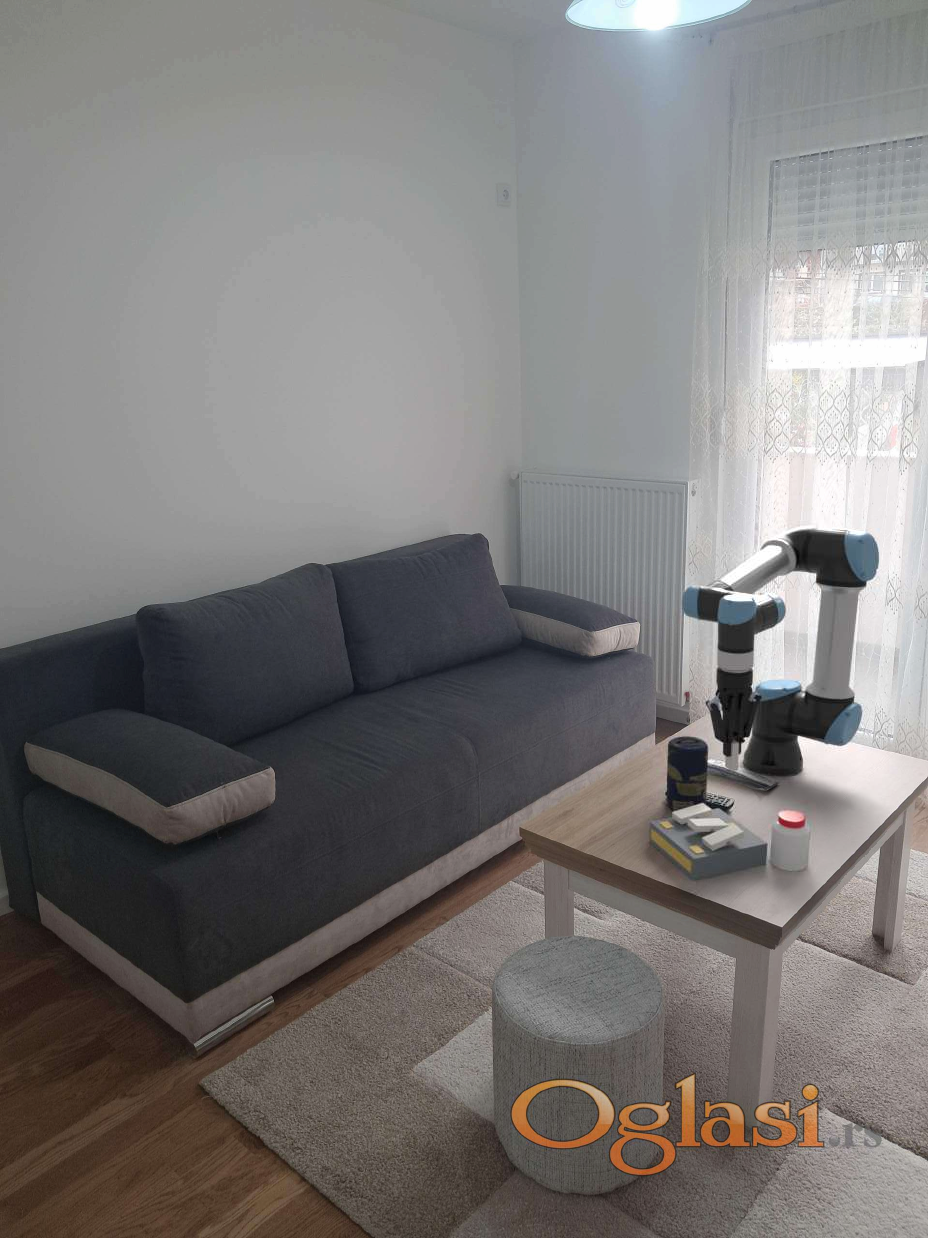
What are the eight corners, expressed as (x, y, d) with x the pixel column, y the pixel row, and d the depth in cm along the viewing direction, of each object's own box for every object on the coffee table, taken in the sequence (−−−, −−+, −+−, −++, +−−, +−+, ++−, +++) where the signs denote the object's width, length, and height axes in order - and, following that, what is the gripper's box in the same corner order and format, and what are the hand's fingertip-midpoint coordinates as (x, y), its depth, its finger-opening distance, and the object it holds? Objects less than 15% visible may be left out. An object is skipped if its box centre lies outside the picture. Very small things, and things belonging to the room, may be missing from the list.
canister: (706, 817, 223) (709, 746, 219) (665, 814, 225) (668, 744, 220) (704, 800, 232) (708, 731, 228) (665, 797, 234) (667, 729, 230)
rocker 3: (733, 830, 203) (732, 823, 202) (745, 839, 199) (744, 832, 199) (702, 843, 201) (701, 837, 200) (713, 853, 197) (712, 846, 197)
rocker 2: (716, 824, 209) (718, 817, 208) (727, 833, 205) (729, 825, 205) (686, 825, 206) (687, 818, 206) (696, 834, 202) (698, 826, 202)
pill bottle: (764, 854, 206) (767, 808, 203) (798, 852, 206) (801, 806, 203) (778, 872, 198) (781, 825, 195) (814, 870, 199) (817, 823, 196)
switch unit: (717, 828, 218) (718, 807, 217) (766, 864, 202) (767, 842, 200) (648, 842, 212) (649, 821, 211) (692, 880, 196) (693, 858, 194)
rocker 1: (702, 809, 214) (702, 802, 214) (713, 816, 210) (712, 810, 210) (671, 818, 212) (671, 811, 211) (681, 826, 208) (681, 819, 207)
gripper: (749, 657, 206) (746, 756, 213) (698, 666, 202) (696, 767, 209) (771, 667, 200) (766, 769, 206) (719, 677, 196) (715, 780, 202)
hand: (731, 768), depth 207 cm, fingers closed
